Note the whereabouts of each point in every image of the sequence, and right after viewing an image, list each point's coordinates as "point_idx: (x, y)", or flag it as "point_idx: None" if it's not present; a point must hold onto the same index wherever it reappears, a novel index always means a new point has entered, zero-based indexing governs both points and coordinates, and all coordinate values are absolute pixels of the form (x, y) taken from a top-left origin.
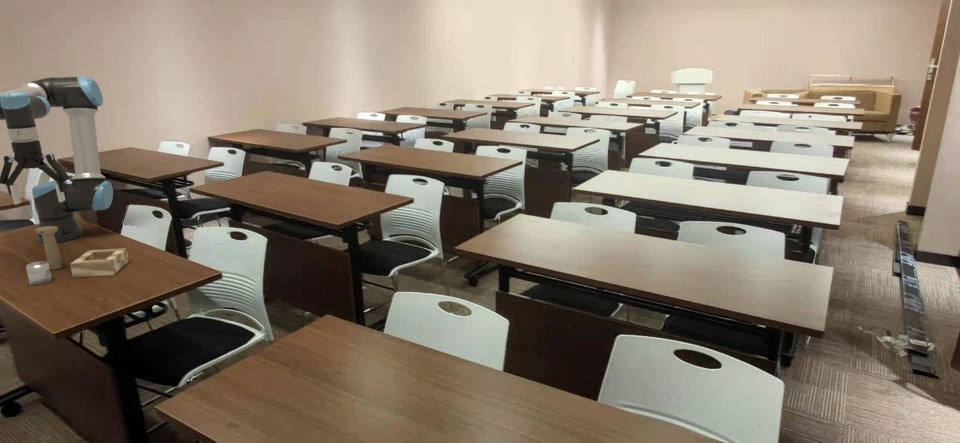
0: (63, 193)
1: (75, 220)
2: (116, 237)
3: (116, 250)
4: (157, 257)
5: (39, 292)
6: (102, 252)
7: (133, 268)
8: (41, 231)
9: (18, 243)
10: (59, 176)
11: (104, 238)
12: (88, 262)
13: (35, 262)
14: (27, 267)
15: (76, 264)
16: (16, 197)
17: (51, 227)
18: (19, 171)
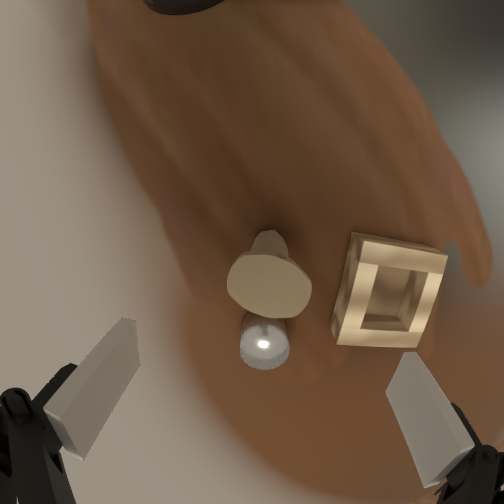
0: (433, 386)
1: None
2: (347, 14)
3: (429, 268)
4: (473, 242)
5: (282, 380)
6: (399, 267)
7: (436, 301)
8: (259, 313)
9: (106, 13)
10: (486, 491)
11: (315, 9)
12: (375, 343)
13: (254, 337)
14: (248, 364)
15: (350, 344)
16: (120, 380)
17: (288, 283)
18: None
